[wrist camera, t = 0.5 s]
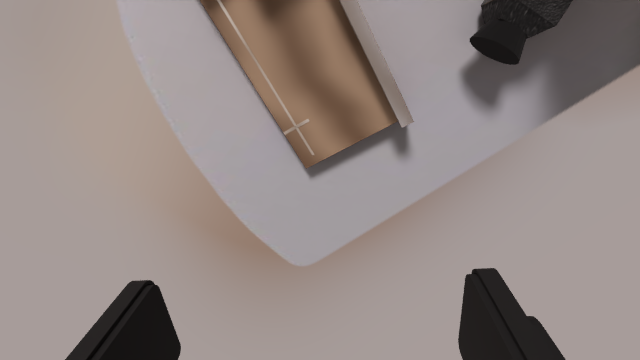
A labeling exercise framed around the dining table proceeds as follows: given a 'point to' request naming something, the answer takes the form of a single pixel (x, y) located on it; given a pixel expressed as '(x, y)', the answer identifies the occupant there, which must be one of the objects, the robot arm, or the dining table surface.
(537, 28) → the hammer
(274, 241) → the dining table surface
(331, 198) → the dining table surface
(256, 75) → the board
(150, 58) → the dining table surface
